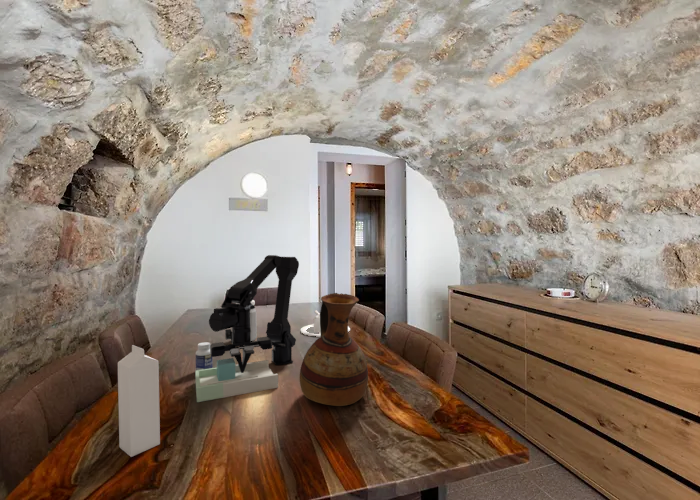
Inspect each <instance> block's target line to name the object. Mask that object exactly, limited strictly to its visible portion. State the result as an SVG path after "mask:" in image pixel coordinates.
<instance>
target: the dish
mask: <svg viewBox="0 0 700 500" xmlns="http://www.w3.org/2000/svg"><path fill="white" fill-rule="evenodd" d="M314 313H315V314H316V316H315V317H314V318H313V323H312V324H308V325H304V326H303V327H301V328H300V333H301V334H302V333H303V334H305V335H304V336H306V335H308V336H307V337H310V336H316V337H315V338H320V336H321V328H320V312H319V311H318V310H317V309H316V310H315V311H314ZM310 327H314V332H319V334H314V333H309V332H307V331H306V330H307V329H308V328H310ZM349 331H351V328H350V326H349V325H348V332H349ZM349 333H350V332H349ZM303 334H302V335H303Z"/></svg>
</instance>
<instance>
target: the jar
mask: <svg viewBox="0 0 700 500" xmlns="http://www.w3.org/2000/svg"><path fill="white" fill-rule="evenodd" d="M235 304H239V303H235ZM251 304H252V305H254V306H255V304H256V302H255V300H254V299H253V300H252V301H251ZM250 327H251V341H252V342H253V341H256V340H257V338H258V336H257V310H256V307H255V308H254V309H250Z"/></svg>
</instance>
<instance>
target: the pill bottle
mask: <svg viewBox="0 0 700 500" xmlns="http://www.w3.org/2000/svg"><path fill="white" fill-rule="evenodd" d="M210 345H211V342H207V341H205V342H199V343H198V344H197V350H196V351H195V371H196V370H203V369H209V368H214V367H213V357H211V353H210Z"/></svg>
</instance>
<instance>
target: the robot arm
mask: <svg viewBox="0 0 700 500" xmlns="http://www.w3.org/2000/svg"><path fill="white" fill-rule="evenodd" d="M299 266H300V264H299V260H298V258H296V256H280V255H277V254H273V255H272V254H271V255H270V254H269V255H266V256H265V257H264V260H263V261H261V262H260V263H259V264H258V265H257V267H256V268H255V269H254V270H253V271H252V272H251V273H250V274H249V275H248V276H247V277H246V278H244V279H242V280H239V281H237V282H235V283H234V284H232V286H230V287H229V289H228V291H227V294H226V296H225V298H224V300H223V302H222V304H221V306H220V307H216V308H213V312H212V313H211V314H210V317H209V319H208V325H209V327H210V329H211V330H212V331H214V332H215V333H216V332H217V333H218V332H221V331H224V337H225V338H224V339H225V341H226V340H230V343H231V344H224V342H223V341H222V342H214V343H213V342H212V343H210V353H211V357H212V358H215V357H222V356H223V355H224V354H225V353H226V352H229V355H230V356H231V357H232V358H233V357H234V358H235V360H236V362H237V364H238V365H239V368H240V371H241V373H244V370H245V367H246V365H247V363H249V360H250V358H251V356H252V355H254V354H255V350H254V349H255V348H258V347H259V348H261V350H263V351H264V350H271V361H272V363H274V365H276V366H279V365H286V364H293V363H294V361H293V360H292V359H293V358H292V357H293V356H292V355H293V354H292V351H293V350H292V348H293V347H294V346H295V345H296V342H297V339H296V338H295V337H294V335H293V334H292V332H291V331H292V330H291V329H292V328H291V325H290V322H289V319H288V318H289V310H290V309H289V308H290V300H291V291H292V285H293V284H292V283H293V280H294V279H295V277H296V276H297V274H298V271H299ZM274 270H275V274H276V275H277V279H278V281H277V282H278V283H277V291H276V299H275V308H274V315H273V319H272V320H271V321H269V322H267V323H266V332H265V334H266V336H262V337H256V340H254V341H252V342H251V327H250V309H254V308H255V309H256V306H255V305H252V304H251V301H252V300H254V298H255V297H256V295H257V292H258V288H259V287H260V285H262V283H263V282H264V281H265V280H266V279H267V278H268V277H269V276H270V275H271V274H272V272H273V271H274ZM236 303H239V304H236ZM240 350H242V353H241V352H240ZM231 357H230V358H231Z"/></svg>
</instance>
